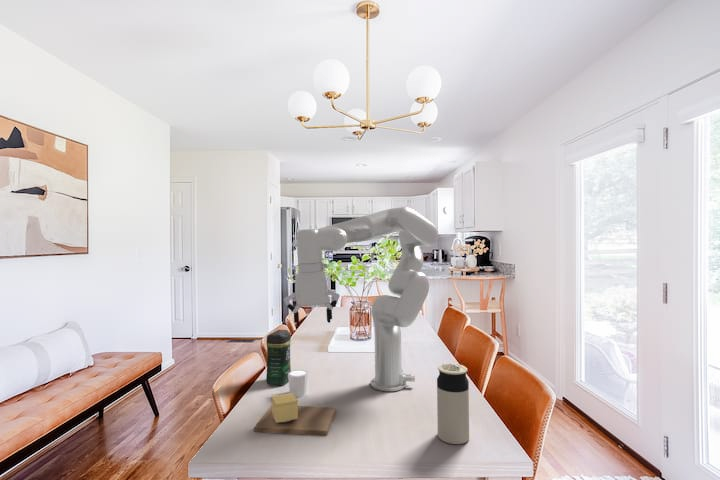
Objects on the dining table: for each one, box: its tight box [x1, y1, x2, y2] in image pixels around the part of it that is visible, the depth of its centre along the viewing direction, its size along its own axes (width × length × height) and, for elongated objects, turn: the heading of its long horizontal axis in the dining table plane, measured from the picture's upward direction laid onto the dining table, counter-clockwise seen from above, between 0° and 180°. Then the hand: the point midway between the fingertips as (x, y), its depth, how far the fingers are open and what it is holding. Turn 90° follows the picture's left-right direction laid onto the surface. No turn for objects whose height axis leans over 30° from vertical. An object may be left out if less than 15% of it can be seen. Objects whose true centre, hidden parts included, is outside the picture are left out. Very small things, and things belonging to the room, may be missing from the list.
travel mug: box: [436, 362, 470, 445], centre depth 97 cm, size 8×8×18 cm
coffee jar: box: [265, 329, 292, 387], centre depth 138 cm, size 10×8×19 cm
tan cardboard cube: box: [271, 392, 299, 423], centre depth 105 cm, size 6×6×5 cm
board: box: [253, 404, 337, 436], centre depth 107 cm, size 20×14×1 cm
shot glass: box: [288, 369, 309, 398], centre depth 126 cm, size 7×7×7 cm
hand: (313, 323), depth 117 cm, fingers open, 9 cm apart
